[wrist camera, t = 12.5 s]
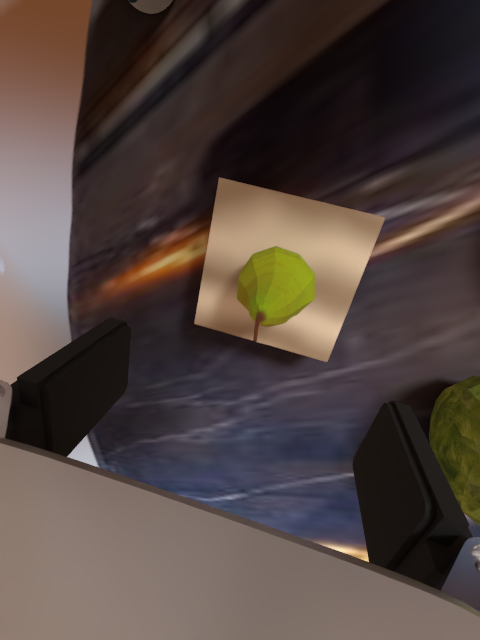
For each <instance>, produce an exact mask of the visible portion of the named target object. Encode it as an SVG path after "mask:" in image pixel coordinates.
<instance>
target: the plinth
mask: <svg viewBox="0 0 480 640" xmlns="http://www.w3.org/2000/svg"><path fill="white" fill-rule="evenodd" d="M384 220H385V217H381V216H377V215H373V214H369V213H365V212H361V211H357V210H353V209H348V208H344V207H340V206H336V205H332V204H328V203H324V202H319V201H315V200H311V199H307V198H303V197H299V196H295V195H290V194H286V193H282V192H278V191H274V190H270V189H265V188H261V187H257V186H253V185H249V184H245V183H241V182H236V181H232V180H228V179H224V178H220V177H219V181H218V187H217V193H216V199H215V205H214V210H213V216H212V222H211V228H210V234H209V240H208V246H207V251H206V257H205V263H204V269H203V275H202V281H201V287H200V292H199V298H198V304H197V310H196V316H195V322H194V324H197V325H200V326H204V327H207V328H211V329H214V330H217V331H221V332H224V333H228V334H231V335H235V336H238V337H242V338H245V339H249V340H252V341H253V337H254V328H255V321H254V320H253V319H252V318H251V317H250V315H249V311H248V310H247V309H246V308H245V307H244V306H243V305H242V304H241V303H240V302H239V301H238V300H237V291H238V277H239V274H240V272H241V270H242V269H243V268H244V266H245V265H246V263H247V262H248V260H249V259H250V257H251V256H252V255H253V254H254V253H257V252H260V251H262V250H265V249H268V248H271V247H274V246H277V247H280V248H283V249H286V250H289V251H291V252H294V253H297V254H299V255H300V256H301V257H302V258H303V259H304V261H305V262H306V263H307V264H308V266H309V267H310V268H311V269H312V270H313V272H314V273H315V299H314V300H313V301H312V302H311V303H310V304H309V305H308V306H306V307H305V308H304V309H303V310H302V311H301V312H300V313H299V314H297V315H296V316H293V317H292V318H290V319H289V320H288V321H287V322H286V323H283V324H280V325H275V326H270V327H265V326H262V325H259V328H258V335H257V341H256V342H259V343H263V344H266V345H269V346H273V347H276V348H280V349H283V350H287V351H290V352H294V353H297V354H301V355H304V356H308V357H311V358H315V359H318V360H321V361H325V362H327V361H328V359H329V356H330V354H331V351H332V349H333V346H334V344H335V341H336V339H337V337H338V334H339V332H340V329H341V327H342V324H343V322H344V319H345V317H346V314H347V312H348V309H349V307H350V304H351V302H352V299H353V297H354V294H355V292H356V289H357V287H358V284H359V282H360V279H361V277H362V274H363V272H364V269H365V267H366V264H367V262H368V259H369V257H370V254H371V252H372V250H373V247H374V245H375V242H376V240H377V237H378V235H379V232H380V230H381V227H382V225H383V222H384Z"/></svg>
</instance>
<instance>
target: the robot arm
mask: <svg viewBox="0 0 480 640" xmlns="http://www.w3.org/2000/svg"><path fill="white" fill-rule="evenodd" d="M130 336H131V329H130V327H128V326H127V323H126V322H125V321H122V320H118V319H115V318H108V319H107V320H105V321H103V322H102V323H100V324H99V325H97V326H96V327H94V328H93V329H91V330H90V331H88V332H86V333H85V334H83V335H82V336H80V337H79V338H77V339H76V340H74V341H72V342H71V343H69V344H68V345H66V346H65V347H63V348H62V349H60V350H59V351H57V352H56V353H54V354H52V355H51V356H49V357H48V358H46V359H45V360H43V361H41V362H40V363H39V364H37V365H35V366H34V367H32V368H31V369H29V370H28V371H26V372H24V373H23V374H21V375H20V376H18V377H17V381H16V382H14V383H13V384H11V385H9V384H8V383H7V382H4V381H2V380H0V640H480V538H477V537H474V538H473V537H472V534H471V532H470V530H469V528H468V526H469V523H468V521H467V519H466V517H465V515H464V513H463V511H462V509H461V507H460V505H459V503H458V501H457V499H456V497H455V495H454V493H453V491H452V489H451V487H450V485H449V483H448V481H447V479H446V477H445V475H444V472H443V470H442V468H441V466H440V464H439V462H438V460H437V458H436V456H435V454H434V452H433V450H432V448H431V446H430V444H429V442H428V440H427V438H426V436H425V434H424V432H423V430H422V428H421V426H420V424H419V422H418V420H417V418H416V416H415V414H414V412H413V410H412V408H411V407H410V406H409V405H405V404H402V403H398V402H395V401H390V402H389V403H388V404H387V403H384V404H383V405H382V407H381V409H380V411H379V412H378V414H377V416H376V418H375V420H374V422H373V423H372V425H371V427H370V429H369V431H368V433H367V434H366V436H365V438H364V440H363V442H362V444H361V445H360V447H359V449H358V451H357V453H356V455H355V457H354V460H353V471H354V477H355V482H356V488H357V494H358V500H359V505H360V511H361V517H362V523H363V528H364V534H365V540H366V546H367V552H368V557H369V562H366V561H364V560H361V559H358V558H356V557H353V556H350V555H348V554H345V553H342V552H339V551H336V550H334V549H331V548H328V547H325V546H322V545H319V544H317V543H314V542H311V541H308V540H305V539H303V538H300V537H297V536H294V535H291V534H288V533H286V532H283V531H280V530H277V529H274V528H271V527H269V526H266V525H263V524H260V523H257V522H254V521H252V520H249V519H246V518H243V517H240V516H237V515H234V514H231V513H229V512H226V511H223V510H220V509H217V508H214V507H211V506H209V505H206V504H203V503H200V502H197V501H194V500H191V499H188V498H185V497H183V496H180V495H177V494H174V493H171V492H168V491H165V490H162V489H159V488H157V487H154V486H151V485H148V484H145V483H142V482H139V481H136V480H133V479H130V478H127V477H124V476H121V475H118V474H116V473H113V472H110V471H107V470H104V469H101V468H98V467H95V466H92V465H89V464H86V463H83V462H80V461H77V460H74V459H71V458H68V457H67V456H68V455H69V454H70V453H71V452H72V450H73V449H74V448H75V447H76V446H77V445H78V444H79V443H80V442H81V440H82V439H83V438H84V437H85V436H86V435H87V434H88V433H89V432H90V430H91V429H92V428H93V427H94V426H95V425H96V424H97V423H98V422H99V420H100V419H101V418H102V417H103V416H104V415H105V414H106V413H107V412H108V410H109V409H110V408H111V407H112V406H113V405H114V404H115V403H116V401H117V400H118V399H119V398H120V397H121V396H122V395H123V394H124V392H125V390H126V388H127V383H128V367H129V351H130Z"/></svg>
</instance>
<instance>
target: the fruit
mask: <svg viewBox="0 0 480 640" xmlns="http://www.w3.org/2000/svg"><path fill="white" fill-rule="evenodd" d="M314 299H315V273H314V272H313V270H312V269H311V268H310V267H309V266H308V264H307V263H306V262H305V261H304V259H303V258H302V257H301V256H300V255H299V254H297V253H294V252H291V251H289V250H286V249H283V248H280V247H277V246H274V247H271V248H268V249H265V250H262V251H260V252H257V253H254V254H253V255H252V256H251V257H250V259H249V260H248V262H247V263H246V265H245V266H244V268H243V269H242V270H241V272H240V274H239V277H238V291H237V300H238V301H239V302H240V303H241V304H242V305H243V306H244V307H245V308H246V309H247V310H248V311H249V315H250V317H251V318H252V319H253V320H254V321H255V328H254V337H253V341H257V335H258V328H259V325H262V326H265V327H270V326H275V325H280V324H283V323H286V322H287V321H288V320H289V319H290V318H292V317H293V316H296V315H297V314H299V313H300V312H301V311H302V310H303V309H304V308H305V307H306V306H308V305H309V304H310V303H311V302H312V301H313V300H314Z"/></svg>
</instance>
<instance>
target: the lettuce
mask: <svg viewBox="0 0 480 640" xmlns="http://www.w3.org/2000/svg"><path fill="white" fill-rule="evenodd" d="M429 441H430V446H431V448H432V450H433V452H434V454H435V456H436V458H437V460H438V462H439V464H440V466H441V468H442V470H443V472H444V475H445V477H446V479H447V481H448V483H449V485H450V487H451V489H452V491H453V493H454V495H455V497H456V499H457V501H458V503H459V505H460V507H461V509H462V511H463V513H464V514H466V515H467V516H468V517H469V518H471V519H472V520H473V521H474V522H476V523H477V524H478V525H479V526H480V377H478V376H472V377H470V378H468V379H466V380H463V381H461V382H459V383H457V384H455V385H452V386H450V387H448V388H446V389H444V390H443V392H442V393H441V394H440V396H439V397H438V398H437V400H436V402H435V405H434V408H433V411H432V414H431V419H430V430H429Z"/></svg>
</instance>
